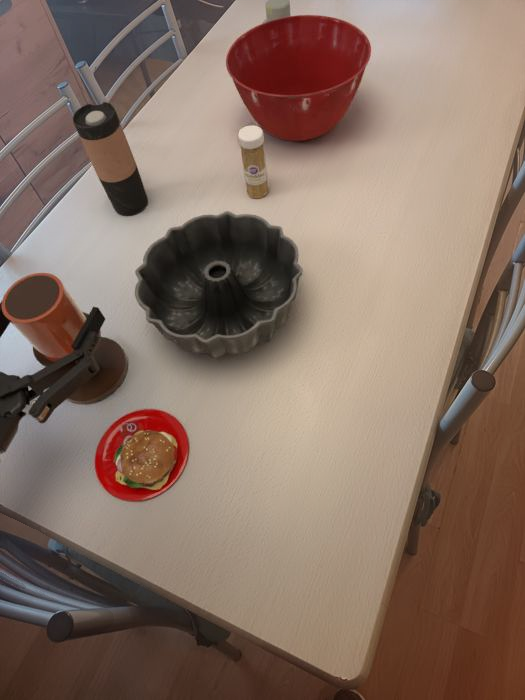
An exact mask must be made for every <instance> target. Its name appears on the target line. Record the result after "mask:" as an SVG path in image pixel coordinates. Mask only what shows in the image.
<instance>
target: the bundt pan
mask: <svg viewBox="0 0 525 700" xmlns="http://www.w3.org/2000/svg"><path fill="white" fill-rule="evenodd" d="M143 255H144V256H143V259H142V264H140V265H139V266H138V267H137V268H136V269H135V271H134V274H135V276H136V278H137V279H138V281H137V282H136V284H135V286H134V287H135V288H134V296H135V300H136V302H137V303H138V305H139V307H141V308H142V310H144V311H145V319H146V321H147V322H148V323H150V324H153V325H154V327H155V328H156V329H157V331H159V332H160V334H161V335H162V336H163V338H165V339H166V340H168V341H171V342H175V343H176V344H177V345H178V346H179V347H180V348H181V349H182V350H184V351H185V352H188V353H190V354H195V355H200V354H205V353H206V354H208V355H209V356H210V357H212V358H213V359H216V360H217V359H219V358H221V357H222V356H223V355H225V354H226V353H228V354H230V355H243V354H246V353H248V352H250V351H252V350H253V349H254V347H255V346H257V344H258V343H269V342H270V341H271V340H272V337H273V335H274V331H276V330H278V329H280V328H281V327H282V326H284V324H286V322H287V321H288V319H289V317H290V314H291V310H292V303H293V302H294V301H295V299H296V297H297V292H298V288H299V282H300V278H301V277H302V275H303V268H302V267H301V266H300V264H299V263H298V261H299V248H298V246H297V244H296V243H295V242H294V240H292V239H291V238H290V237H288V236H286V235H285V234H284V230H283V227H282V226H280V225H274V224H273V225H272V224H270V223H269V221H267V220H266V219H265V218H263V217H262V216H259V215H256V214H252V213H244V214H243V213H242V214H235V213H233V212H231V211H229V210H227V211H226V210H225V211H223V212H222V213H219V214H201V215H197V216H194V217H193V218H190V219H188V220H187V221H185V222H184V223H183V224H181V225H179V226H174V227H173V226H172V227H169V228H168V229H167V231H166V234H165V235H164V236H163V237H161V238H159V239H157V240H155V241H154V242H153V243H152V244H150V245H149V246H148V248H147V249H146V251H145V253H144V254H143Z"/></svg>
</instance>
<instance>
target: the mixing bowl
mask: <svg viewBox="0 0 525 700" xmlns="http://www.w3.org/2000/svg"><path fill="white" fill-rule="evenodd" d="M262 23H263V22H262ZM262 23H260V24H258V25H256V26H253V27H252V28H250V29H248V30H247V31H246V32H243V34H241V35H240V36H239V37H237V39H236V40H235V41H234V42H233V43H232V44H231V46H230V47H229V49H228V51H227V53H226V58H225V59H226V60H225V67H226V71H227V73H228V75H229V76H230V78H231V79H232V81H233V84H234V86H235V89H236V90H237V93H238V95H239V97H240V99H241V100H242V102H243V104H244V106H245V107H246V109H247V111H248V112H249V114H250V115H251V116H252V118H253V119H254V121H255V122H256V124H258V126H259V127H260V128H261V129H262V130H264V131H265V132H266V133H268V134H269V135H271V136H273V137H275V138H277V139H281V140H285V141H290V142H303V141H310V140H312V139H316V138H319V137H322V136H323V135H325V134H326V133H328V132H330V131H331V130H332V129H333V128H334V127H335V126H337V125H338V124H339V123H340V121H341V120H342V119H343V117H344V116H345V114H346V112H347V111H348V110H349V108H350V106H351V104H352V102H353V100H354V99H355V97H356V94H357V92H358V90H359V87H360V84H361V82H362V79H363V76H364V73H365V70H366V68H367V65H368V63H369V62H370V58H371V55H372V46H371V42H370V40H369V38H368V36H367V35H366V34H365V33H364V31H362V30H361V29H360V28H359V27H357V26H356V25H355V24H352V23H351V22H348V21H346V20H343V19H340V18H336V17H332V16H327V15H321V14H320V15H318V14H298V15H290V16H289V17H283V18H279V19H275V20H272V21H269V22H266V23H263V24H262Z"/></svg>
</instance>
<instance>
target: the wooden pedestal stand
mask: <svg viewBox="0 0 525 700" xmlns="http://www.w3.org/2000/svg"><path fill="white" fill-rule="evenodd" d="M82 312H83V314H84V315H85V316H86V318H87V317H88V315H89V314H90V313H87V312H84V311H82ZM97 335H98V337H99V342H98V343H97V345H96V347H95V349H94V351H93V353H92V355H91V357H92V359H93V360H94V361H95V362H96V364H97V365H98V366H99V371H98V372H97V373H96V374H95V375H94V376H93V377H92V378H90V379H89V380H88V381H87V382H86V383H85V384H83V385H82V386H81V387H80V388H79V389H78V390H76V391H75V392H74V393H73V394H72V395H70V396H69V397H68V398H67V399H66V400H67V401H68V402H70V403H74V404H78V405H91V404H95V403H98V402H101V401H103V400H105V399H107V398H108V397H110V396H112V395H113V394H114V393H115V392H116V391H117V390H118V389H119V388H120V387H121V386H122V384H123V382H124V380H125V378H126V376H127V374H128V369H129V364H128V363H129V362H128V356H127V354H126V352H125V351H124V349H123V347H122V346H121V345H120V344H119V343H118V342H117V341H115V340H113V339H111V338H108V337H105V336H102V331H101V329H100V330H99V332H98V334H97ZM32 352H33V356H34V358H35V359H36V361H37V362H38V363H39V364H40V365H41V366H43V368H45V367H47V366H49V365H50V364H52V363H54V362H52V361H49V360H47V359H45V358H44V357H43V356H42V355H41V354H40V353H39V352H38V351H37V350H36V349H35V348H34V347H33V346H32Z"/></svg>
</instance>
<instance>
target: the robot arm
mask: <svg viewBox="0 0 525 700" xmlns="http://www.w3.org/2000/svg"><path fill="white" fill-rule="evenodd" d="M88 314H89V315H88V317H87V319H86V321H85V322H84V324H83V326H82V328H81V330H80V331H79V333H78V335H77V337H76V338H75V340H74V342H73V344H72V345H71V347H72V348H73V350H74V352H72V353H70V354H68V355H67V356H65V357H63V358H61V359H59V360H58V361H56V362H54V363H52V364H50V365H49V366H47V367H43V368H42V369H40V370H38V371H36V372H34V373H33V374H26V375H24V376H22V377H20V376H19V375H15V374H7V373H5V372H3V371H0V455H2V454H4V453H6V452H7V450H8V449H9V447H10V445H11V444H12V441H13V440H14V438H15V436H16V435H17V432H18V431H19V423H20V421H21V420H22V419H23V418H24V417H25V416H28V417H31V418H32V419H35V420H36V421H37V422H38V423H39V424H44V423H47V421H48V420H49V419H50V417H51V416H52V414H53V412H54V411H55V410H56V408H58V407H59V406H60V405H61V404H62V403H64V402H65V401H66V400H67V398H68V397H69V396H70V395H72V394H73V393H74V392H75V391H76V390H78V389H79V388H80V387H81V386H82V385H83V384H85V383H86V382H87V381H88V380H89V379H90V378H92V377H93V376H94V375H95V374H96V373H97V372H98V371H99V366H98V365H97V364H96V362H95V361H94V360H93V359H92V357H91V355H92V353H93V351H94V349H95V347H96V345H97V343H98V342H99V337H98V335H97V334H98V332H99V330H100V331H101V329H102V327H103V325H104V323H105V321H106V317H105V316H104V314H103V313H102V311H101V309H100V308H99V307H98V306H92V308H91V310H90V312H89V313H88ZM10 324H11V322H10V321H9V320H8V319H7V318H6V317H5V315H4V314H3V311H2V300H1V301H0V338H2V336H3V334H4V333H5V331H6V330H7V328H8V327H9V325H10ZM29 388H30V389H29ZM1 462H2V460H1V459H0V463H1Z"/></svg>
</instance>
